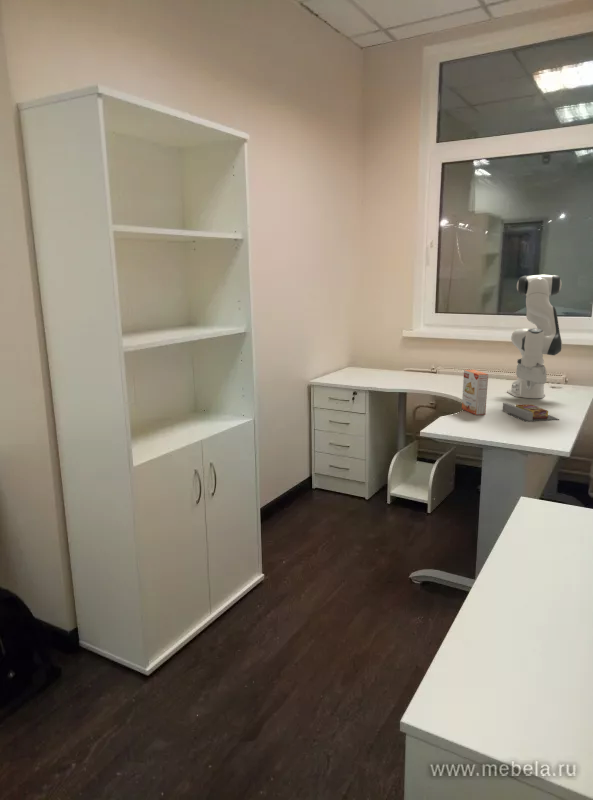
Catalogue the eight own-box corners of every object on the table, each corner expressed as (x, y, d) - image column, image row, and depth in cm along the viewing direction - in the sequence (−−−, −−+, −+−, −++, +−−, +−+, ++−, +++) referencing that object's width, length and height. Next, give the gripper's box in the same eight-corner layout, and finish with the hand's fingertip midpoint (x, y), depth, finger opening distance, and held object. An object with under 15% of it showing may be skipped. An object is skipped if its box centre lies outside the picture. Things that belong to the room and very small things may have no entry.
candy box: (532, 403, 290) (549, 410, 275) (531, 411, 291) (547, 419, 276) (515, 403, 289) (531, 411, 274) (514, 411, 290) (530, 419, 275)
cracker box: (460, 409, 298) (463, 369, 293) (471, 408, 299) (474, 369, 294) (475, 415, 284) (478, 374, 280) (485, 414, 286) (489, 373, 281)
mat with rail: (499, 410, 294) (500, 403, 294) (531, 409, 298) (531, 401, 297) (525, 421, 272) (526, 413, 272) (559, 419, 276) (560, 411, 275)
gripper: (551, 365, 271) (548, 393, 274) (526, 359, 290) (523, 385, 293) (539, 365, 270) (536, 394, 272) (515, 359, 289) (512, 386, 292)
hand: (529, 389), depth 283 cm, fingers closed
